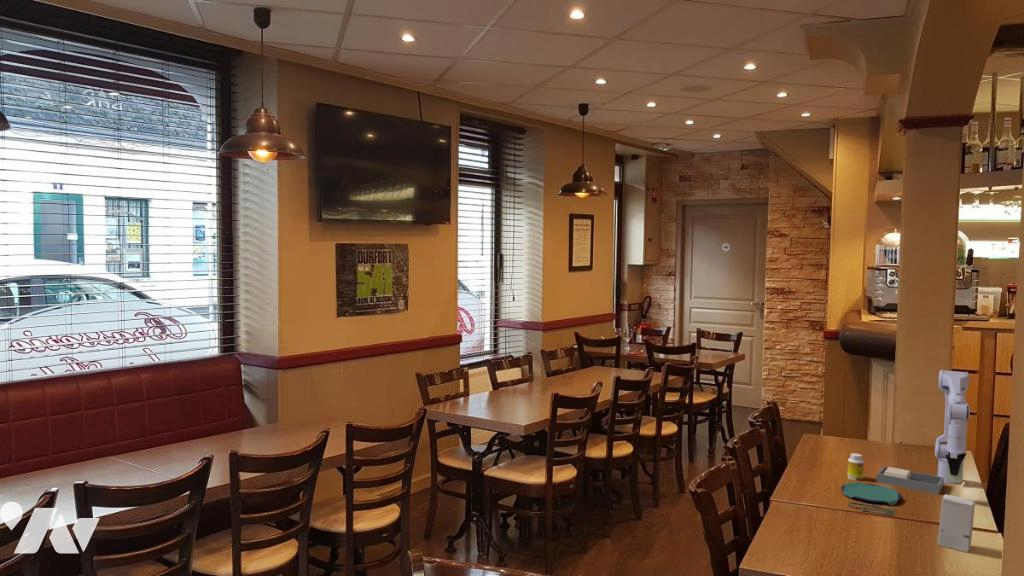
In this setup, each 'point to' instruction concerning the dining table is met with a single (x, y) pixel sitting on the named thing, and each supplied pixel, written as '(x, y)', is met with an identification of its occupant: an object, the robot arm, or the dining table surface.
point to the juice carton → (959, 476)
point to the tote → (913, 481)
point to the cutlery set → (872, 495)
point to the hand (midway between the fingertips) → (954, 473)
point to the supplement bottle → (855, 467)
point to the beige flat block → (898, 473)
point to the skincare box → (956, 523)
